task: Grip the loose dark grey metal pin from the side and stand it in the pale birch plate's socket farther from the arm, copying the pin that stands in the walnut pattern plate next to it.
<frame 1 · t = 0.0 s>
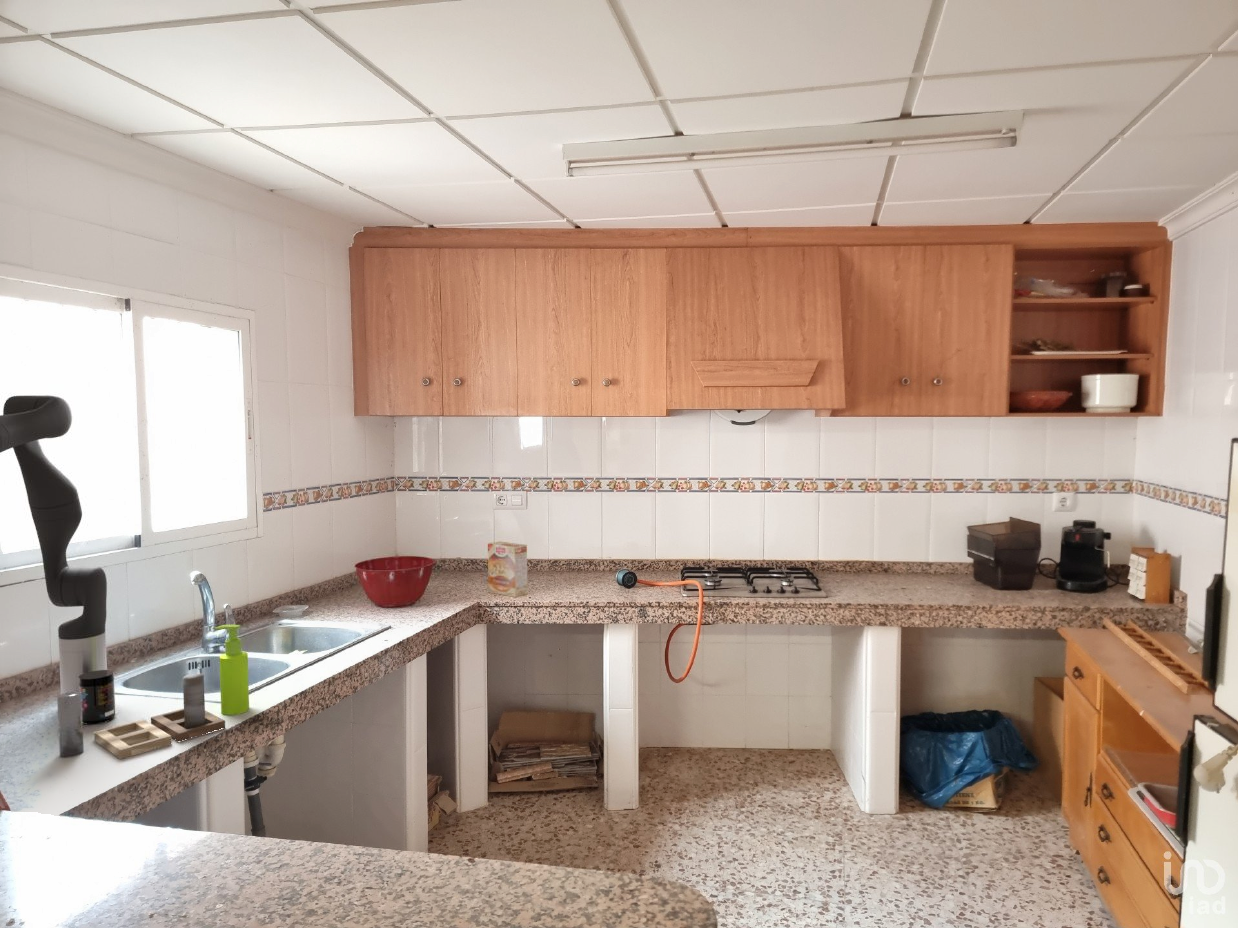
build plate: (132, 742, 169), on the countertop
supplement container: (98, 720, 182), on the countertop
coffeecake box: (507, 593, 314), on the countertop
pattern plate: (187, 726, 177), on the countertop
pin: (71, 753, 164), on the countertop
mixing bowl: (395, 604, 297), on the countertop
soap dispenser: (233, 711, 187), on the countertop
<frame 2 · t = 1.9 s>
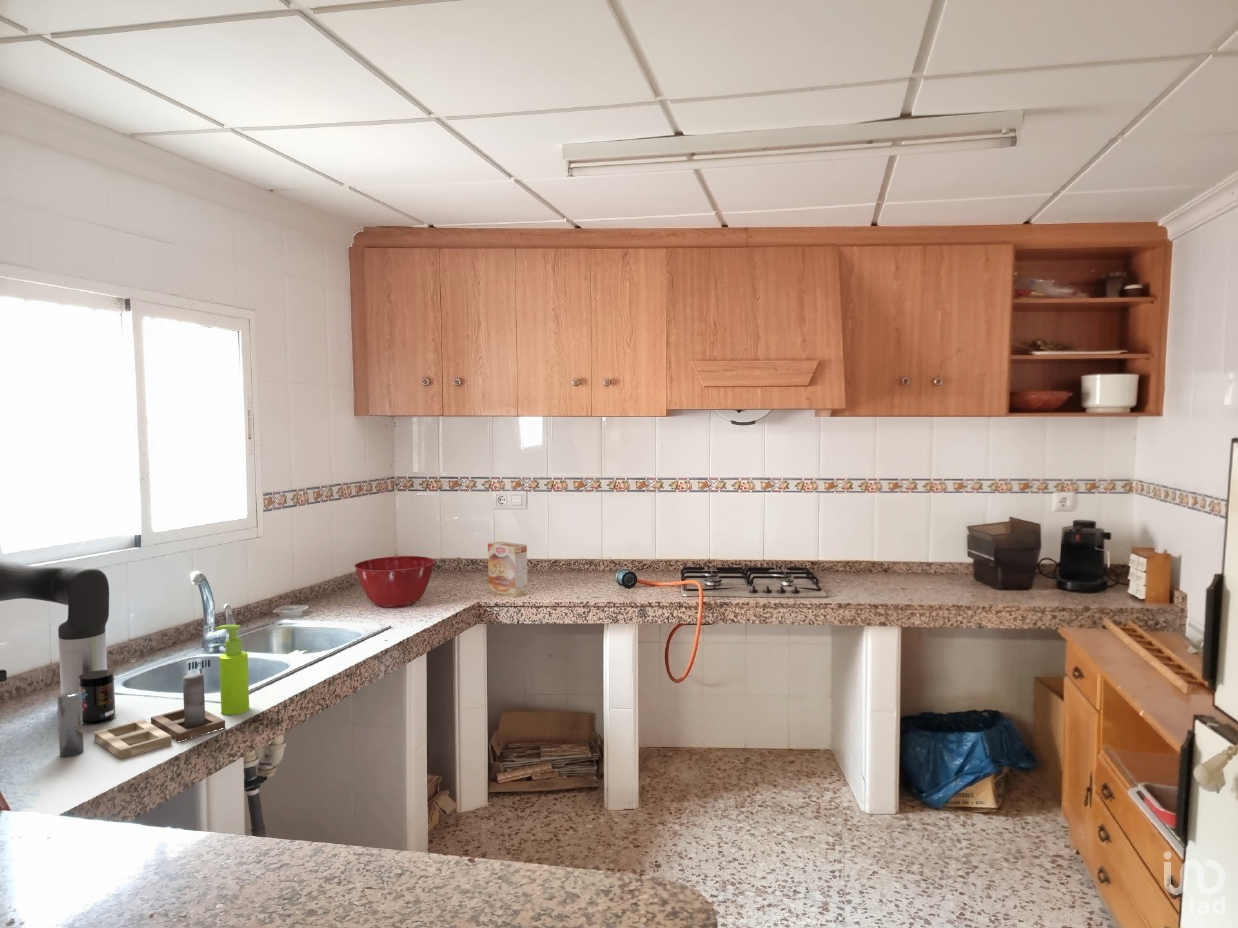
hand: (0, 670, 154), 20 cm above the countertop, tool horizontal, fingers open, 8 cm apart
nothing on the countertop moved.
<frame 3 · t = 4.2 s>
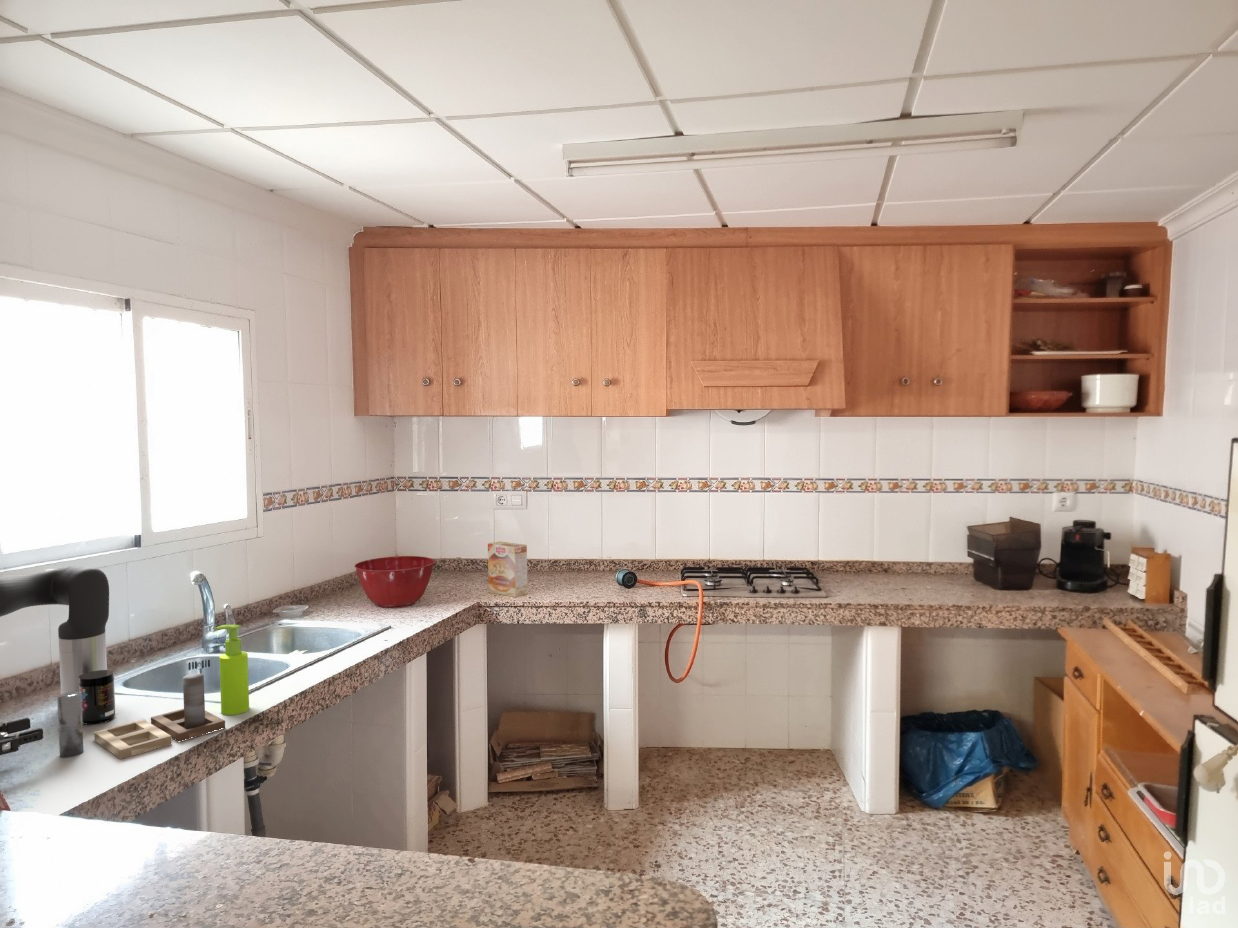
hand: (36, 727, 159), 7 cm above the countertop, tool horizontal, fingers open, 8 cm apart
nothing on the countertop moved.
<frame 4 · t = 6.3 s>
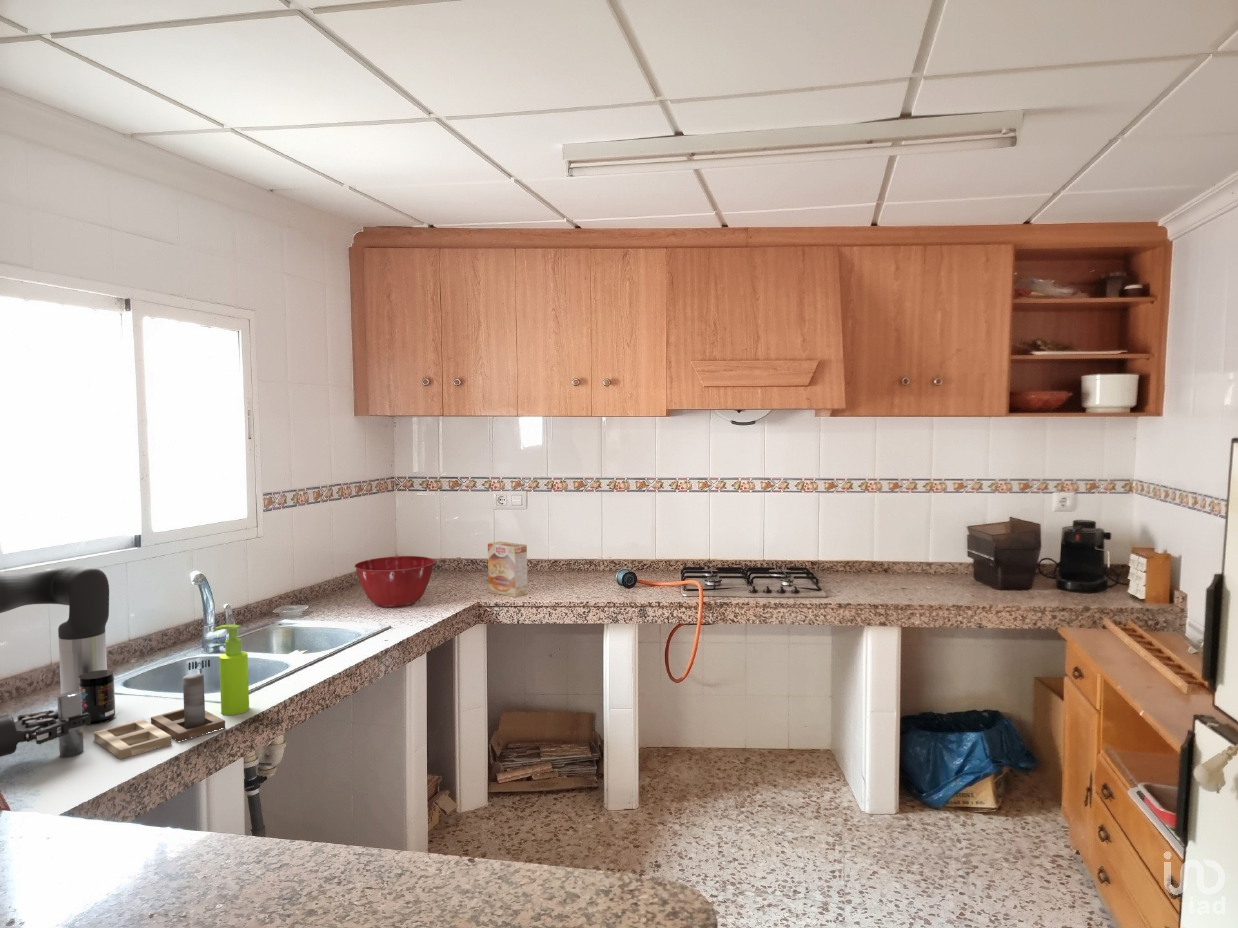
hand: (85, 715, 165), 7 cm above the countertop, tool horizontal, fingers closed on pin, 4 cm apart
pin: (71, 753, 164), on the countertop, touching gripper
everything else where it was.
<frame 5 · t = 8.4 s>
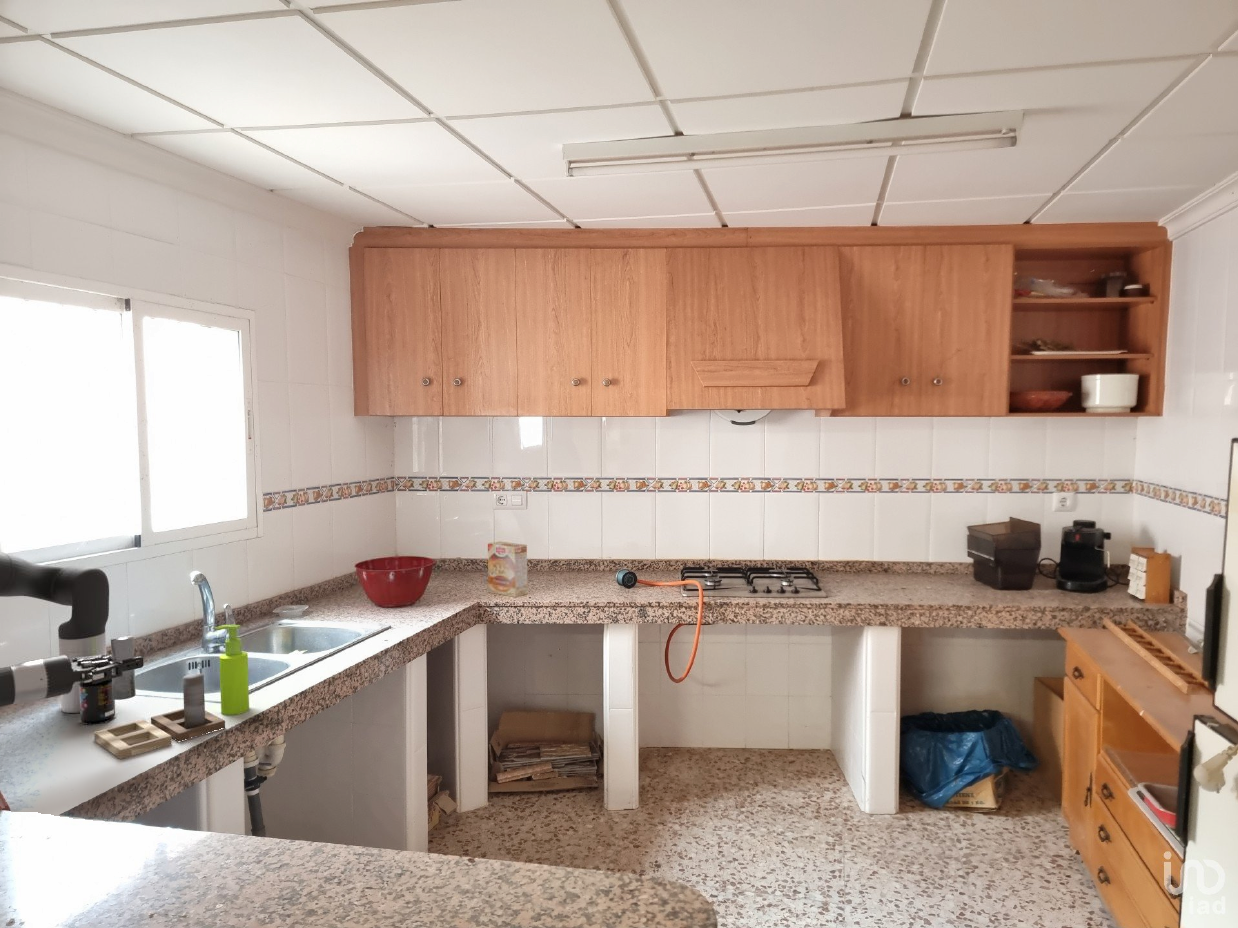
hand: (138, 659, 167), 18 cm above the countertop, tool horizontal, fingers closed on pin, 4 cm apart
pin: (124, 696, 165), point 11 cm above the countertop, touching gripper
everything else where it was.
when the fingers open (8 cm above the countertop, at t = 10.8 s): pin drops 1 cm, resting in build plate.
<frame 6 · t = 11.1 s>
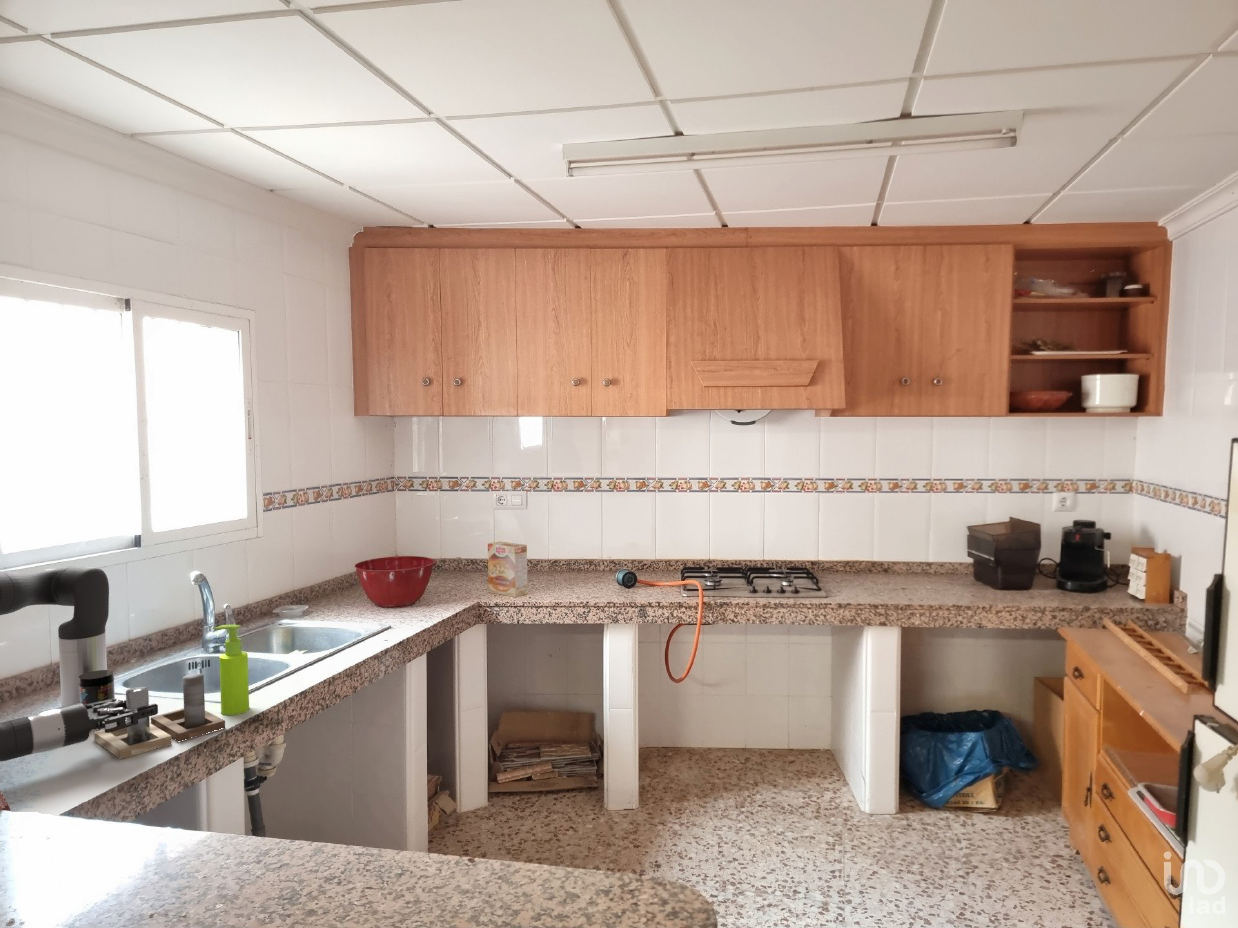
hand: (150, 704, 168), 8 cm above the countertop, tool horizontal, fingers open, 6 cm apart
pin: (139, 746, 166), resting in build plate
everything else where it was.
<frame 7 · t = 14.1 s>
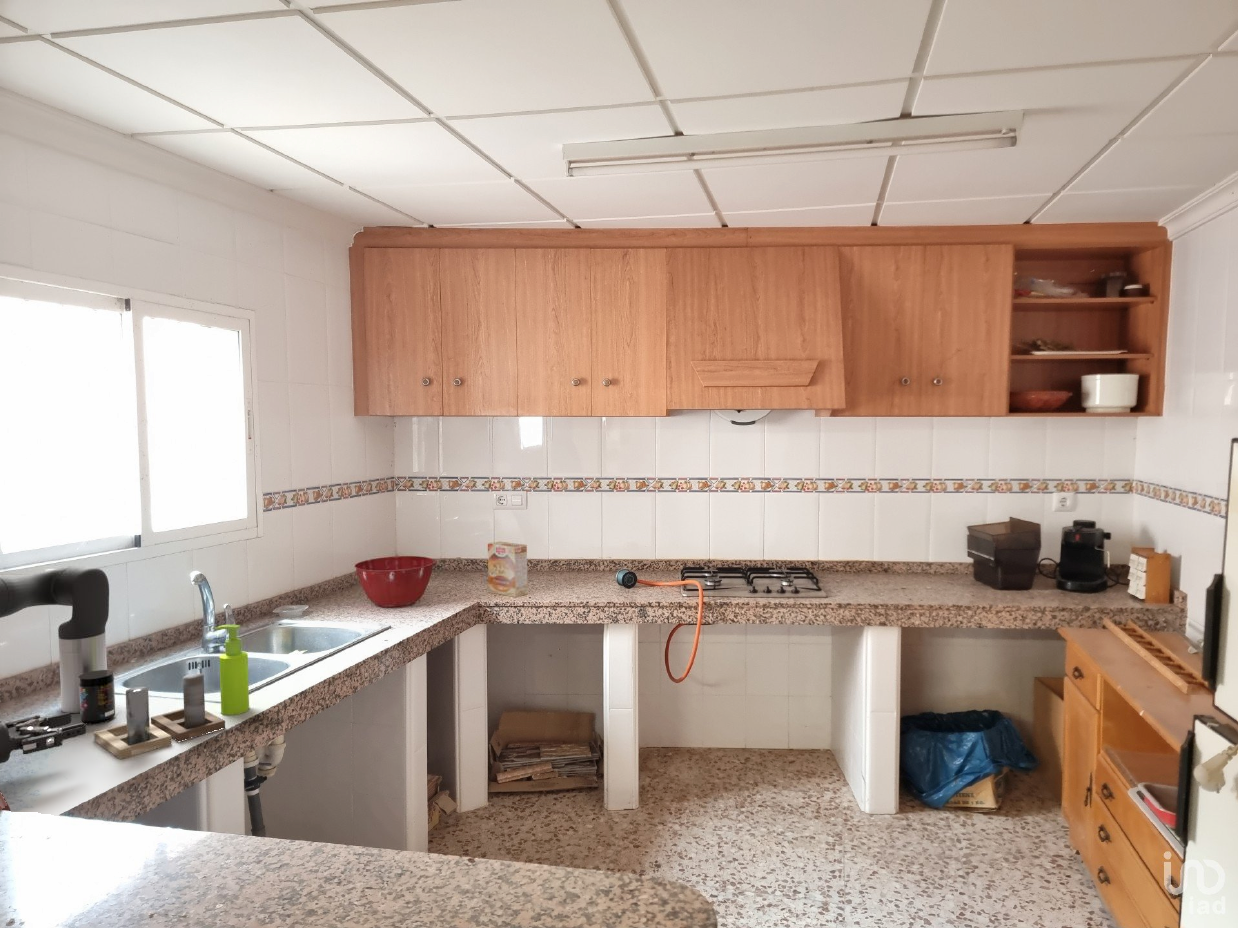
hand: (77, 722, 158), 8 cm above the countertop, tool horizontal, fingers open, 8 cm apart
nothing on the countertop moved.
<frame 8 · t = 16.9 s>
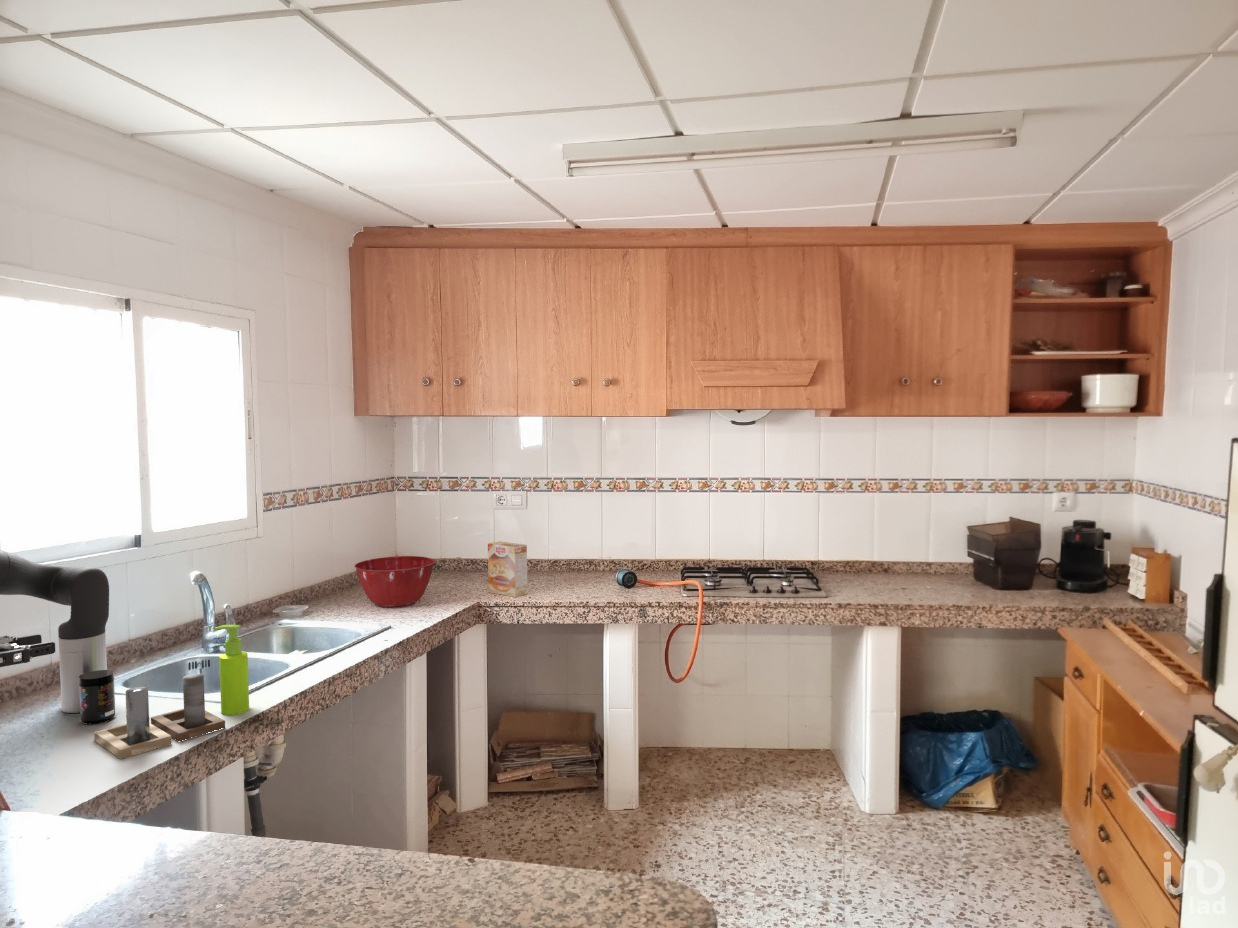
hand: (47, 642, 154), 25 cm above the countertop, tool horizontal, fingers open, 8 cm apart
nothing on the countertop moved.
at the end: pin 0.1 cm from the target spot on the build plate, point 0.0 cm above the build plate's base; pin tilted 0°; the gripper is holding nothing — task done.
